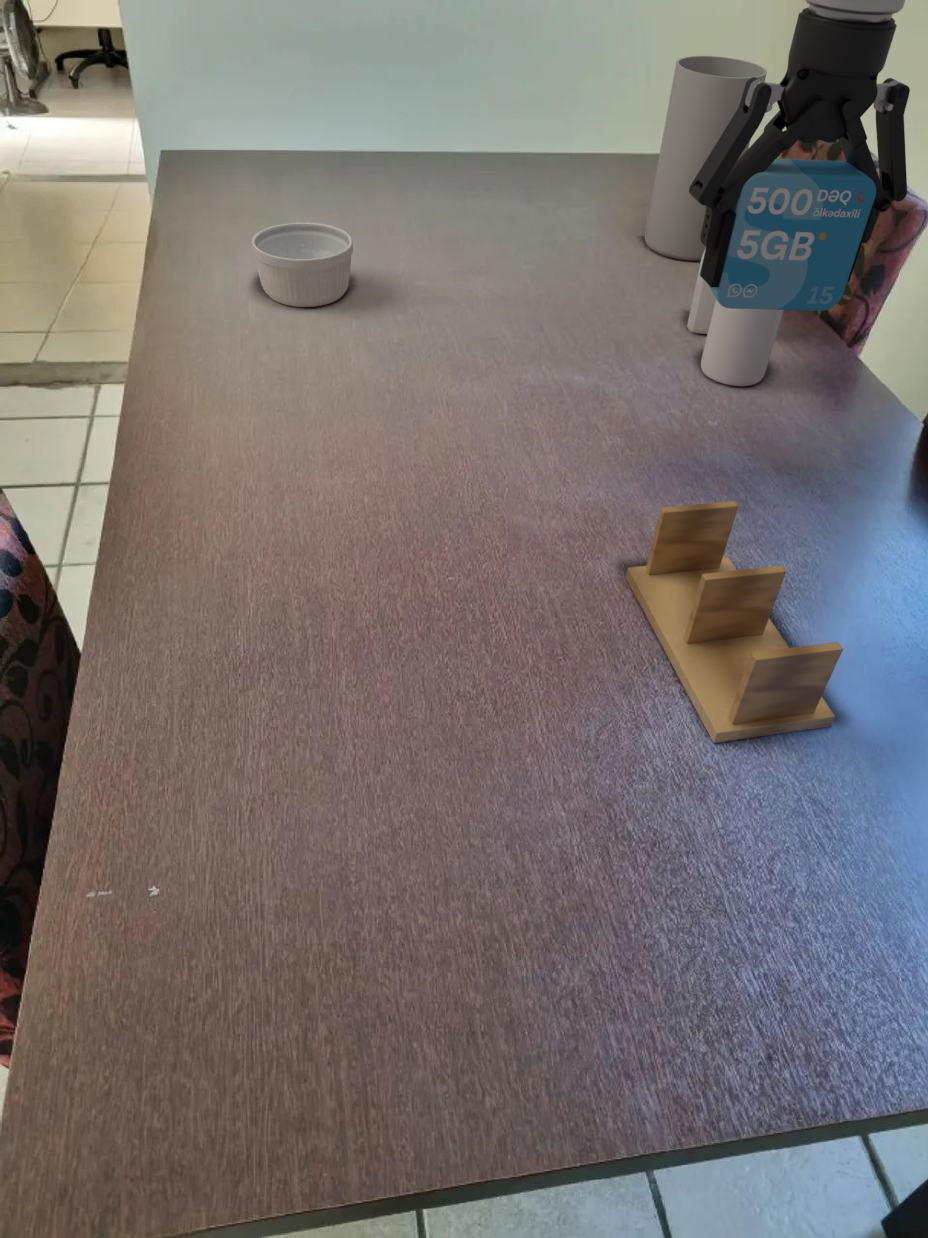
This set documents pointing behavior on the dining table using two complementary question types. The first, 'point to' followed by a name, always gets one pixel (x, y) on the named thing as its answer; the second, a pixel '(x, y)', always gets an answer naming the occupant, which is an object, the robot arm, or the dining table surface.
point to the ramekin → (303, 263)
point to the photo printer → (701, 306)
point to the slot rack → (728, 630)
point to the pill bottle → (739, 344)
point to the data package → (795, 236)
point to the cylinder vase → (692, 148)
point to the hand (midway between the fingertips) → (774, 279)
